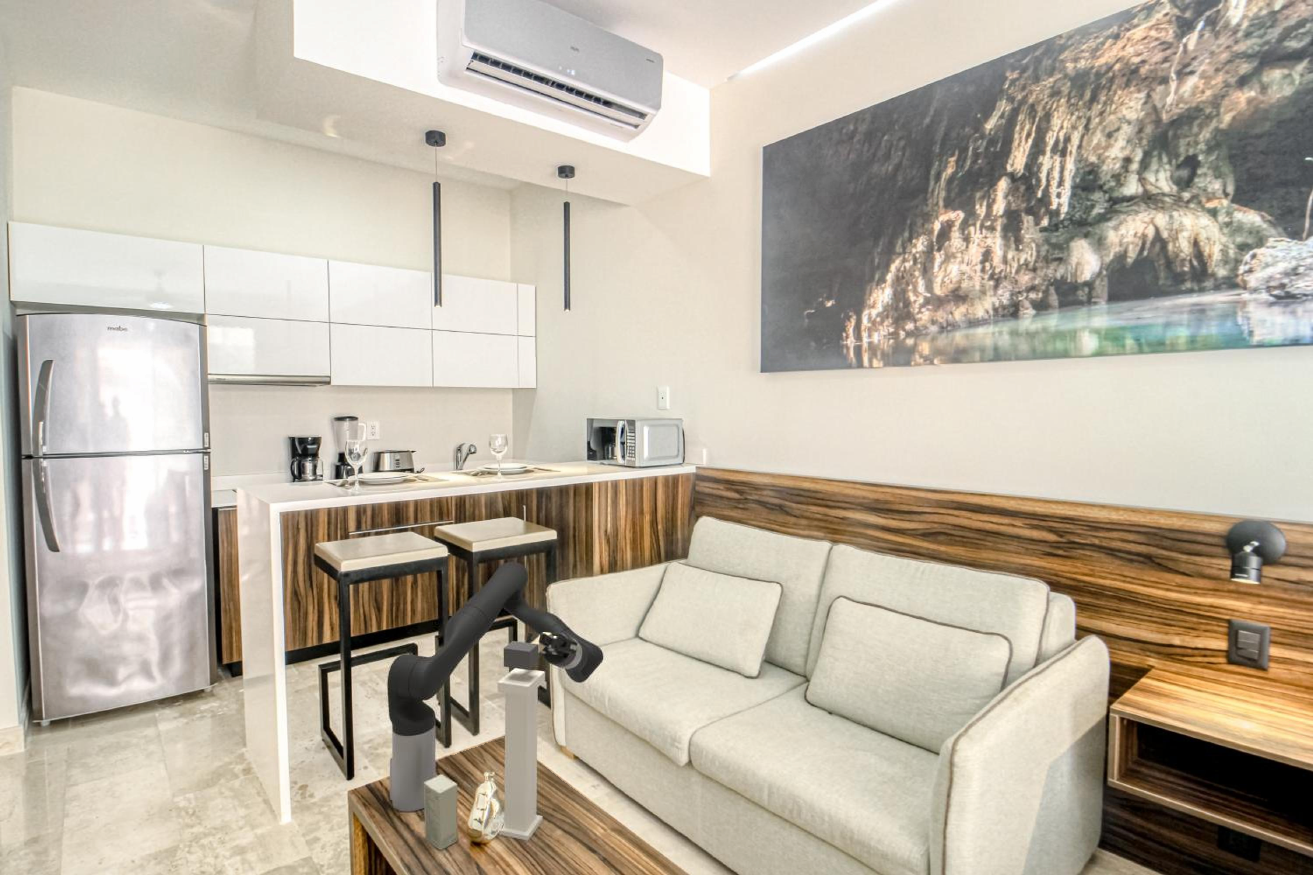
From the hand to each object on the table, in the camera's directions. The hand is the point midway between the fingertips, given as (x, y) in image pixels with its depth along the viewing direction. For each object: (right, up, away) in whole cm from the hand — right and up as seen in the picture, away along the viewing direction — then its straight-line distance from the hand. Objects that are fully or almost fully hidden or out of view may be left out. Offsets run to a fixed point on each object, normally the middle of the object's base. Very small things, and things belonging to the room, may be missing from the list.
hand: (535, 637), depth 146 cm
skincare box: (-18, -40, -9) cm, 45 cm away
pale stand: (-3, -40, -4) cm, 40 cm away
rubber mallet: (0, -3, -1) cm, 4 cm away
